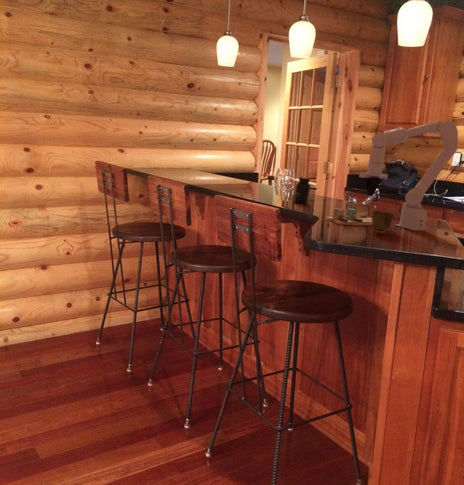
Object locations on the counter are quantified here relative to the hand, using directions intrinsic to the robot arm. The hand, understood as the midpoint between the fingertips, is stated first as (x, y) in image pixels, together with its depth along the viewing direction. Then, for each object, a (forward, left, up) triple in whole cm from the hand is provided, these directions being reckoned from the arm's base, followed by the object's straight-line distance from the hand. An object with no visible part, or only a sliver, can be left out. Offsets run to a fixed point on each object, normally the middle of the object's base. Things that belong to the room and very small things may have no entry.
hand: (370, 195), depth 214 cm
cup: (-23, +17, -11) cm, 31 cm away
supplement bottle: (+38, +4, -11) cm, 40 cm away
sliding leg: (-6, +13, -9) cm, 17 cm away
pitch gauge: (-4, +10, -10) cm, 15 cm away
